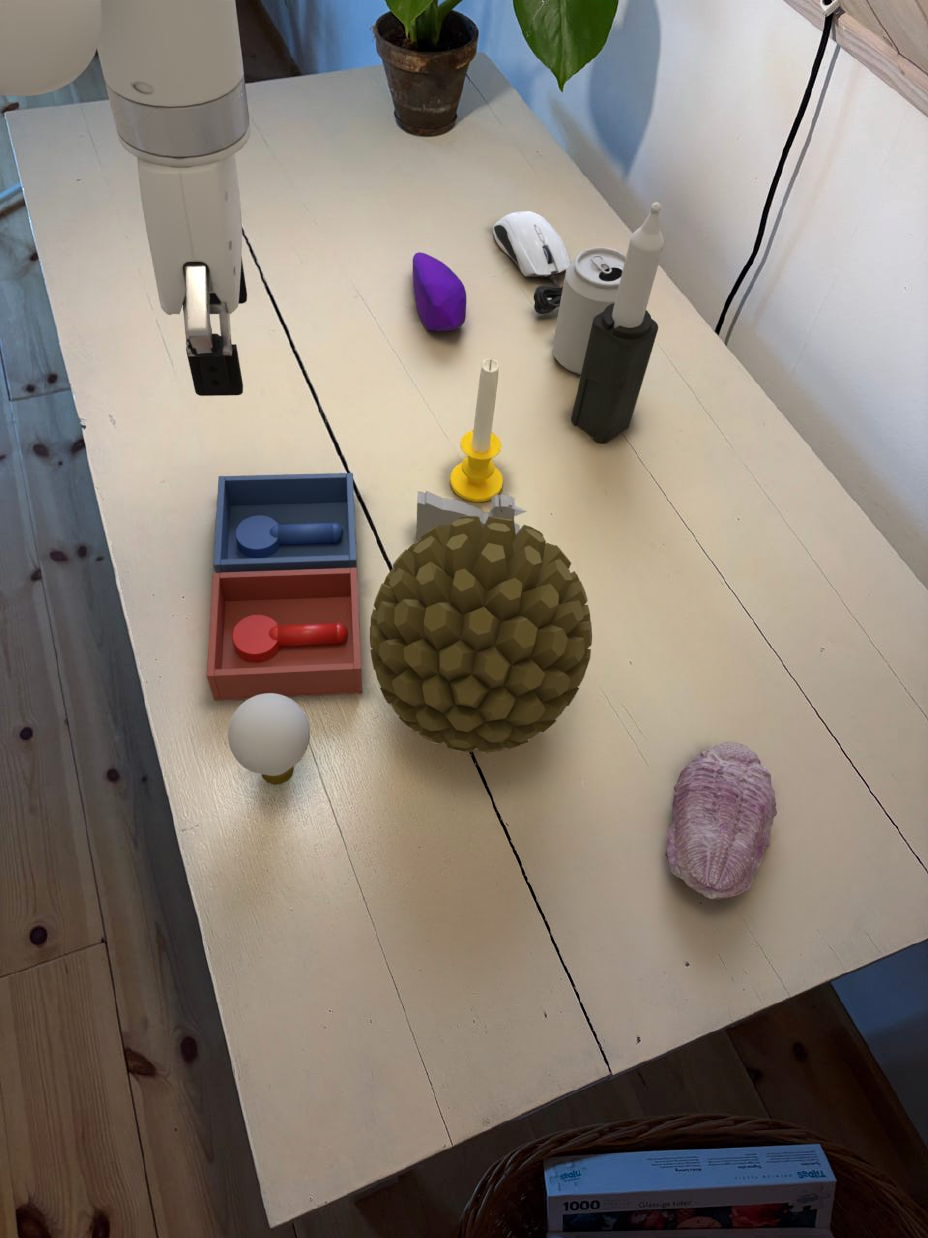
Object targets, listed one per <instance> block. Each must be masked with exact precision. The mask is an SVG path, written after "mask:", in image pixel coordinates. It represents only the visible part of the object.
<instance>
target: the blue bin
mask: <svg viewBox="0 0 928 1238" xmlns="http://www.w3.org/2000/svg"><path fill="white" fill-rule="evenodd" d="M216 497H217V498H216V513H215V527H214V528H215V531H214V547H213V548H214V549H213V561H212V563H213V564H212V565H213V569H214V573H223V572H250V571H278V570H306V569H334V568H357V569H358V561H357V538H356V537H357V535H356V515H355V514H356V513H355V512H356V511H355V492H354V474H353V472H329V473H327V472H326V473H325V472H324V473H290V474H289V473H288V474H287V473H286V474H251V475H250V474H245V475H243V474H242V475H219V476H218V479H217V495H216ZM256 515H263V516H267V517H270V518H272V519H273V520H275V521H276V522H277V523H278V525H288V524H319V523H336V524H339V525H340V526H341V527H342V529H343V532H344V533H343V537H342V539H341V540H340V541H338V542H335V543H310V544H282V545H280V547H279V549H278V550H277V551H276V552H275V553H274V554H273V555H271V556H269V557H266V558H251V557H248V556H246V555H244V554H243V553H242V552H241V551H240V550H239V548H238V545H237V540H236V529H237V526H238V525H239V524H240V523H241V522H242V521H243V520H244V519H246V518H248V517H251V516H256Z"/></svg>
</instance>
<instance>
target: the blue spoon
mask: <svg viewBox="0 0 928 1238" xmlns="http://www.w3.org/2000/svg"><path fill="white" fill-rule="evenodd" d="M343 533H344V532H343V529H342V527H341V526H340V525H339V524H336V523H319V524H288V525H278V523H277V522H276V521H275V520H273V519H272V518H270V517H267V516H263V515H256V516H251V517H248V518H246V519H244V520H243V521H242V522H241V523H240V524H239V525H238V526H237V529H236V540H237V545H238V548H239V550H240V551H241V552H242V553H243V554H244V555H246V556H248V557H251V558H266V557H269V556H271V555H273V554H274V553H275V552H276V551H277V550H278V549H279V547H280V545H282V544H310V543H335V542H338V541H340V540H341V539H342V537H343Z"/></svg>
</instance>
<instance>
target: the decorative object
mask: <svg viewBox="0 0 928 1238" xmlns="http://www.w3.org/2000/svg"><path fill="white" fill-rule="evenodd" d="M514 523H515V520H514V521H513V520H509V519H505V518H499V517H491V516H489V517H488V519H487V521H486V523H485V524H484V526H483V527H482V524H481V521H480V518H479V517H477V516H468V517H461V518H459V519H457V520H456V521H455V522H453V523H452V524H451V525H443V526H442V525H441V524H440V525H438V526H436V527H435V528H433V529H431V530H430V531H428V532H426V533H425V534H423V535H422V536H421V541H420V542H414V543H412V544H411V545H410V546H409V547H408V548H407V549H404V551H403V552H401V554H400V555H399V556H398V557H397V558H396V559H395V561H394V562H393V564H392V568H391V569H390V571H389V572H388V574H386V576H385V579H384V581H383V583H381V584H380V586H379V589H378V592H377V594H376V596H375V599H374V602H373V607H374V608H373V609H372V612H371V615H370V626H369V646H370V648H371V649H370V657H371V662H372V667H373V670H374V672H375V676H376V680H377V682H378V684H379V686H380V687H379V690H380V692H381V693H382V696H383V697H384V699H385V701H386V703H387V704H388V705H389V704H390V705H391V707H392V709H393V711H394V713H396V715H398V719H399V720H400V721H402V722H403V724H405V726H407V727H408V728H409V729H410V730H412V731H413V732H417V733H418V735H419V736H421V737H422V738H423V739H424V740H426V741H428V742H430V743H433V744H437V745H438V744H441V743H444V744H445V746H446V748H447V749H450V750H454V751H459V752H464V753H465V752H466V753H473V752H474V751H475V750H478V751H479V752H481V753H486V754H491V753H492V754H493V753H496V752H500V751H503V750H504V749H507V750H511V749H514V748H517V747H519V746H522V745H524V744H526V743H528V742H529V740H531V739H533V738H535V737H536V736H538V735H539V734H540V733H545V732H546V731H548V729H550V728H551V727H552V726H553V725H554V724H555V723H556V722H557V720H556V719H558V718H559V717H560V716H561V715H562V714H563V712H564V711H565V709H566V707H570V704H571V703H572V701H573V700H574V698H575V697H576V695H577V693H578V691H579V690H580V686H581V683H582V682H583V680H584V679H585V675H586V672H587V669H588V666H589V663H590V660H591V655H592V648H591V646H592V644H593V628H592V621H591V612H590V608H589V604H587V603H588V602H589V600H588V597H587V593H586V590H585V588H584V585H583V583H582V581H581V580H580V578H579V576H578V574H577V572H576V571H575V570H574V571H572V572H571V570H570V567H571V565H572V562H571V560H570V559H569V557H568V556H567V555H566V554H565V553H564V551H562V549H561V548H560V547H559V546H558V545H557V544H552V543H549V542H547V540H546V538H545V537H544V534H543V533H542V532H541V531H540V530H538V529H535V528H534V527H532V526H529V525H526V524H523V525H522V526H521V528H520V530H519V531H518V533H517V534H516V533H515V526H514Z"/></svg>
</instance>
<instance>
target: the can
mask: <svg viewBox="0 0 928 1238" xmlns="http://www.w3.org/2000/svg"><path fill="white" fill-rule="evenodd" d="M626 255H627V254H625V253H624V252H622V251H620V250H618V249H615V248H613V247H606V246H594V247H593V246H591V247H589V248H586V249H583V250H581V251H580V252H578V253H577V255H576V256H575V257H574V260H573V261H572V262H571V264H570V265H569V267H568V268H567V269H566V270H565V275H564V279H563V285H562V286H563V290H562V296H561V301H560V307H558V313H557V319H556V324H555V328H554V335H553V340H552V347H551V348H552V350H551V351H552V353H553V356H554V358H555V360H557V362H558V363H559V364H560V365H561V366H562V367H564V368H565V369H566V370H568V371H569V372H571V373H573V374H574V373H575V374H576V375H579V376H581V372H582V367H583V363H584V358H585V354H586V349H587V345H588V340H589V336H590V331H591V327H592V322H593V319H594V317H595V316H596V315H598V314H600V313H602V312H603V311H604V310H605V308H606V307H607V306H609V305H610V304H612V303H615V300H616V296H617V292H618V288H619V284H620V280H621V276H622V271H623V267H624V263H625V259H626Z"/></svg>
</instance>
